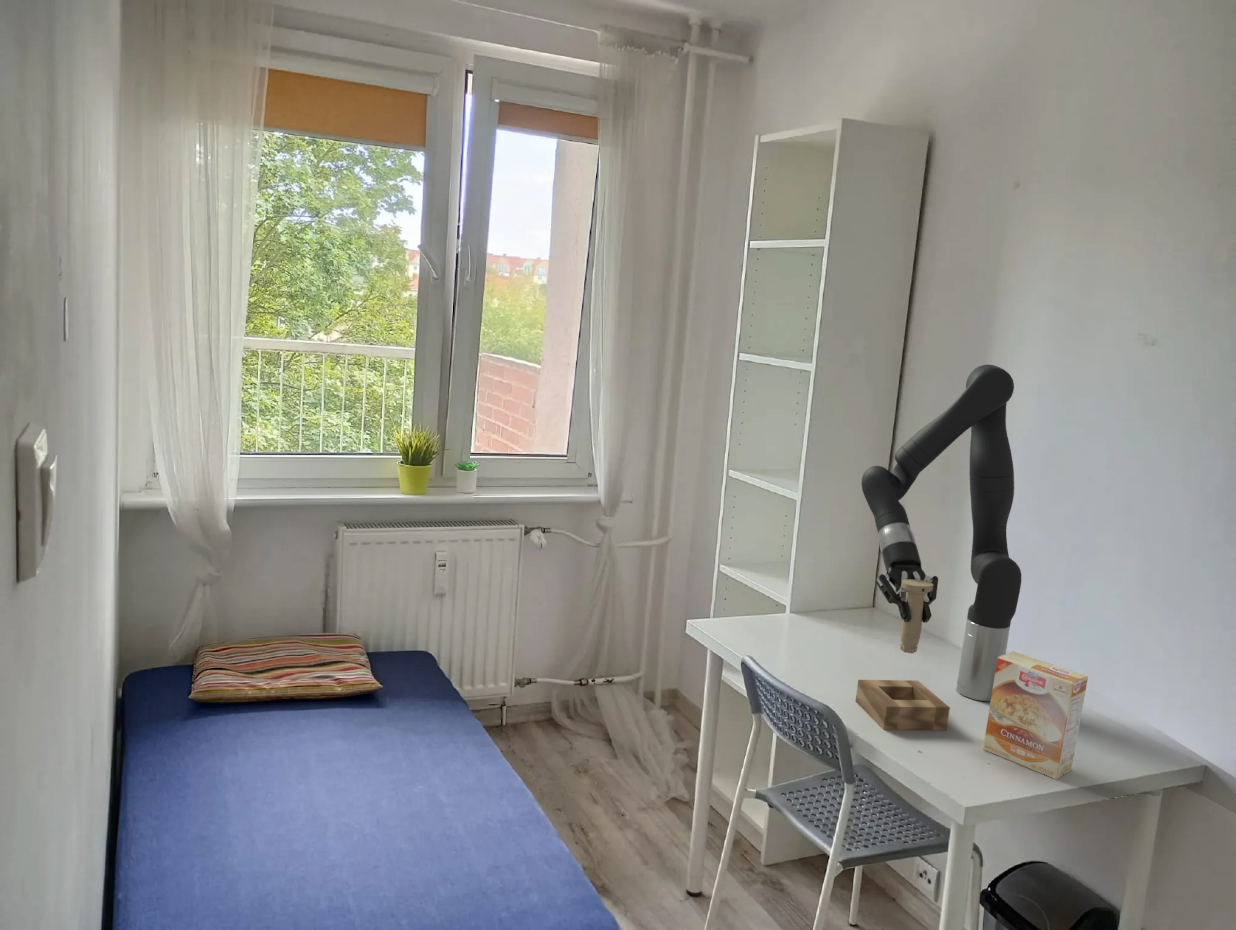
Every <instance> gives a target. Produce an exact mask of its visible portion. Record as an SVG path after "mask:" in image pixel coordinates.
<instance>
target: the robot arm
mask: <svg viewBox="0 0 1236 930" xmlns="http://www.w3.org/2000/svg"><path fill="white" fill-rule="evenodd" d="M1014 384H1015V383H1014V380H1013V378H1012V375H1011V374H1010V373H1009V372H1008V371H1006V370H1005V369H1004V368H1002V367H999V366H997V365H994V364H981V365H979V366H976V368H974V369H973V370H972V371H971V372H970V374H969V375H968V376H967V378H966V384H965V390H963V392H962V393H961V394H960V396H959V397H958V398H957V399H956V400H955V401H954V402H953V403H952V404H951V405H950V406H949V407H947V409H946V410H945V411H943V412H942V413H941V414H940V415H938V416H937V417H935V418H934V419H932V421H930V422H928V423H927V424H925V426H923V427H922V428H921V429H919V430H918V431H917V432H915V434H913V436H911V437H910V438H909V439H908V440H907V441H906V442H904V444H903V445H902V446H900V448H898V449H897V451H895V452H894V460H895V461H896V464H895V466H894V467H893V469H892V470H891V471H890V470H889V469H888V468H886V467H883V466H881V465H872V466H870V467H869V468H867V469H866V470H865V471H864V472H863V475H862V477H861V482H860V483H861V484H860V485H861V490H862V493H863V496H864V499H865V500H866V503H867V504H868V508H869V509H870V511H871V513H872V515H873V517H874V523H875V527H876V530H877V535H878V543H879V549H880V551H881V556H882V560H883V564H884V568H885V571H886V574H884V573H881V574H880V575H879V576H878V577H877V578H876V580H875V584H876V585H877V586H878V588H879V590H880V592H881V593H882V595H883V597H884V598H885V599H886V601H887V602H888V604H895V605H896V606H897V607H898V611H899V615H900V618H901V620H902V621H903V620H904V622H909V621H910V620H911V613H910V609H909V606H908V602H906V601H907V593H908V592H907V591H906V590H904V589H903V588H902V587H901V584H902V580H907V579H916V580H924V581H928V582H930V583H932V584H933V590H932V591H930V592H928V593H926V594H925V596H924V602H923V614H922V624H923V623H924V624H925V623H926V624H927V623H928V622H929V621H930V620H931V618H932V611H931V608H930V605H931V604H932V603H933V602H934V601H936V599H937V593H938V592H937V591H938V583H939V577H938V576H937V575H934V576H929V575H927V574H926V573H925V571H924V570H923V568H922V562H921V557H920V553H919V550H918V546H917V542H916V539H915V536H914V533H913V530H912V529H911V525H910V521H909V517H908V513H907V511H906V508H904V506H903V504H901V502H900V501H901V500H902V498H904V496H905V495H907V492H909V489H910V488H911V487H912V486H913V484H914V483H915V481H916V480H917V478H918V476H919V474H921V472H922V471H924V470H925V469H926V468H927V467H928V466H929V465H930V464H931V463H933V462H934V460H936V459H937V458H938V457H939V456H940V455H941V454H942V453H943V452H944V451H945V450H947V448H948V447H949V446H951V445H952V444H953V443H954V442H955V441H956V440H957V439H959V438H960V436H962V435H963V434H964V433H965V432H966V431H967V430H969V429H971V431H970V447H969V492H970V493H969V494H970V510H971V519H972V530H973V531H972V543H971V544H972V545H971V556H970V557H971V558H970V574H971V576H972V579H973V581H974V582H975V583H976V585H977V587H976V593H975V596H974V597H975V598H974V602H973V604H971V605H970V606H969V607H968V610H967V615H966V622H965V628H964V629H965V631H964V636H963V642H962V649H961V655H960V661H959V669H958V677H957V681H956V688H955V689H956V691H957V692H958V693H959V694H961V695H962V696H964V697H967V698H969V699H972V700H976V701H981V702H991V696H992V690H993V684H994V678H995V672H996V666H997V660H998V657H999V656H1002V655H1006V654H1007V648H1008V642H1009V635H1010V629H1011V623H1012V620H1013V618H1014V616H1015V614H1016V611H1017V607H1018V602H1019V597H1020V592H1021V588H1022V587H1021V586H1022V570H1021V568H1020V566H1019V565H1018V563H1017V562H1016V561H1014V560H1013V559H1012V558H1011V557H1010V556H1009V549H1008V538H1007V527H1008V526H1007V525H1008V521H1009V517H1010V513H1011V511H1012V506H1013V503H1014V497H1015V471H1014V469H1015V468H1014V461H1013V456H1012V449H1011V445H1010V440H1009V436H1008V431H1007V422H1006V421H1007V404H1008V402H1009V401H1010V399H1011V398H1012V396H1013V393H1014V391H1015V385H1014ZM892 585H893V586H892ZM893 587H894V588H893Z"/></svg>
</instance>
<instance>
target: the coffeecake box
mask: <svg viewBox="0 0 1236 930" xmlns="http://www.w3.org/2000/svg"><path fill="white" fill-rule="evenodd" d="M1088 677H1089V676H1088V675H1086V674H1081V673H1079V672H1076V671H1073V670H1069V669H1067V668H1065V667H1061V666H1058V665H1055V664H1052V663H1050V662H1046V661H1043V660H1041V659H1037V658H1035V657H1031V656H1029V655H1025V654H1023V653H1020V652H1016V651H1011V652H1009V653H1006V655H1002V656H999V657H998V660H997V666H996V672H995V678H994V684H993V690H992V696H991V701H989V702H990V703H989V709H988V716H987V722H986V728H985V734H984V740H983V741H984V742H983V748H982V749H983V750H984V751H986V752H989V753H991V754H994V755H996V756H999V757H1001V758H1004V759H1005V760H1008V761H1010V762H1013V763H1015V764H1017V765H1020V766H1023V767H1025V768H1026V769H1027V768H1028V769H1030V770H1033V771H1035V772H1037V773H1040V774H1042V775H1044V774H1045V775H1044V776H1046V775H1047V776H1046V777H1048V778H1049V777H1050V778H1051V777H1052V779H1054V780H1058V779H1060V778H1061V777H1063V776H1064V775H1065V773H1066V774H1068V773H1069V772H1068V771H1070V770H1071V771H1072V768H1073V765H1074V764H1073V763H1074V759H1075V758H1074V757H1075V751H1076V746H1077V741H1078V737H1079V736H1078V735H1079V731H1080V725H1081V724H1080V723H1081V718H1082V714H1083V707H1084V703H1085V702H1084V701H1085V696H1086V691H1087V685H1088V680H1089V678H1088ZM1071 771H1070V772H1071ZM1067 772H1068V773H1067ZM1063 774H1064V775H1063ZM1060 776H1061V777H1060ZM1059 777H1060V778H1059Z"/></svg>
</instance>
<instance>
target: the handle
mask: <svg viewBox="0 0 1236 930" xmlns="http://www.w3.org/2000/svg"><path fill="white" fill-rule="evenodd" d="M901 587H902V588H903V589H904V590H906V591H907V592H906V602H908V606H909V609H910V613H911V620H910V621H909V622H904V620H903V619H902V622H901V628H900V631H901V633H900V642H901V643H900V646H899V647H900V650H901V651H902V652H903V653H907V654H914V653H916V652H917V650H918V644H919V642H920V639H921V632H922V624H923V622H922V614H923V602H924V596H925V594H927V593H928V592H930V591H932V590H933V584H932V583H930V582H928V581H924V580H916V579H907V580H902V584H901Z"/></svg>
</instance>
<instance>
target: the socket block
mask: <svg viewBox="0 0 1236 930" xmlns="http://www.w3.org/2000/svg"><path fill="white" fill-rule="evenodd" d="M855 703H857V705H859V707H860V708H861V709H862V710H863V711H865V713H866V714H868V716H869V717H870V718H871V719H872V720H873V721H874V722H875V723H876V724H877V725H878V726H879V727H880V728H881V729H882V730H884V731H885V730H886V731H887V730H889V731H891V730H892V731H947V728H948V721H949V715H950V708H951V707H950V706H949V705H948V704H947V703H945V702H944V701H943V700H942V699H940V698H939V697H938V695H935V694H934V693H933V692H932V691H931V690H930V689H929V688H927V687H926V686H925V685H924V684H923V683H921V682H920V681H919V680H912V679H911V680H905V679H903V680H900V679H899V680H898V679H891V680H890V679H858V680H857V688H856V696H855Z"/></svg>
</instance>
